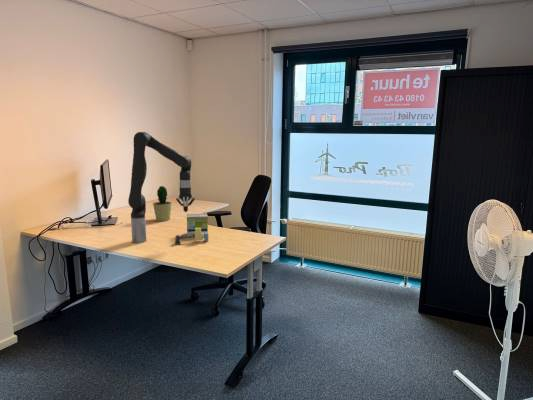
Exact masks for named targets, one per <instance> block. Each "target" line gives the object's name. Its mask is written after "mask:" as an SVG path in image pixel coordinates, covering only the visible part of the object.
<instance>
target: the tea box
mask: <svg viewBox="0 0 533 400" xmlns="http://www.w3.org/2000/svg"><path fill="white" fill-rule="evenodd" d="M208 218H209V216H208V214H207V213H187V214H186V236H187V235H194V232H195V228H201V232H202V233H204V232H208V233H209V231H208V227H209V226H208V225H209V224H208V221H209V220H208Z"/></svg>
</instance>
